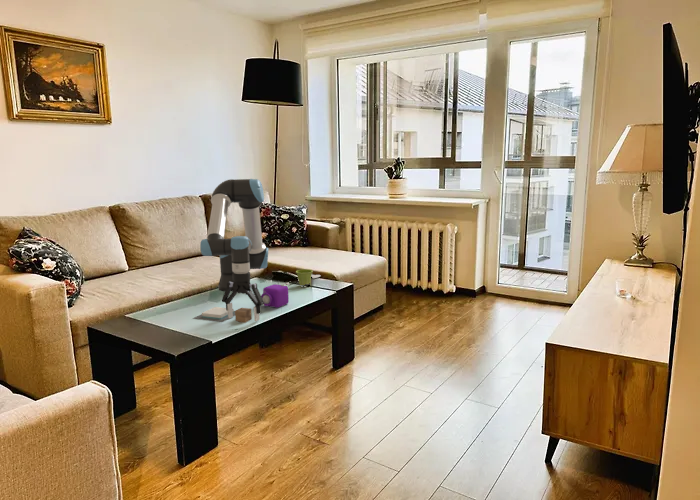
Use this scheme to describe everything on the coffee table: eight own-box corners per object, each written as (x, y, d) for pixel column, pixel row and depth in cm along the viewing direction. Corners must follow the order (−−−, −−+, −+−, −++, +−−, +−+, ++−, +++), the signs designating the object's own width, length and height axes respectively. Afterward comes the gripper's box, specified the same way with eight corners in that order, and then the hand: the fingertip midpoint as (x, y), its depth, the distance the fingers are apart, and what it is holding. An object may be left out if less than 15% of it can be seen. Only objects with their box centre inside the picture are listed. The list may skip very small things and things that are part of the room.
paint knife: (296, 288, 274) (296, 284, 273) (275, 286, 280) (275, 282, 279) (322, 277, 300) (322, 273, 300) (303, 275, 306) (303, 271, 306)
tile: (215, 306, 230) (233, 308, 227) (215, 311, 230) (233, 312, 227) (201, 313, 221) (220, 315, 217) (202, 317, 221) (220, 319, 218)
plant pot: (312, 288, 272) (311, 272, 270) (295, 288, 272) (294, 273, 270) (313, 284, 281) (313, 269, 280) (297, 284, 281) (296, 269, 280)
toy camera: (257, 309, 234) (256, 288, 232) (271, 301, 247) (270, 282, 245) (277, 311, 230) (276, 290, 229) (290, 303, 243) (290, 283, 241)
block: (242, 318, 220) (241, 307, 220) (251, 319, 219) (251, 308, 218) (235, 321, 216) (235, 310, 215) (245, 322, 214) (244, 311, 213)
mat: (213, 309, 234) (213, 308, 234) (242, 312, 229) (242, 311, 229) (192, 319, 220) (192, 318, 220) (222, 322, 214) (222, 322, 214)
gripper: (211, 271, 214) (214, 318, 218) (261, 275, 206) (263, 324, 209) (222, 268, 221) (224, 314, 225) (270, 272, 213) (272, 319, 216)
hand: (243, 319), depth 217 cm, fingers open, 13 cm apart
